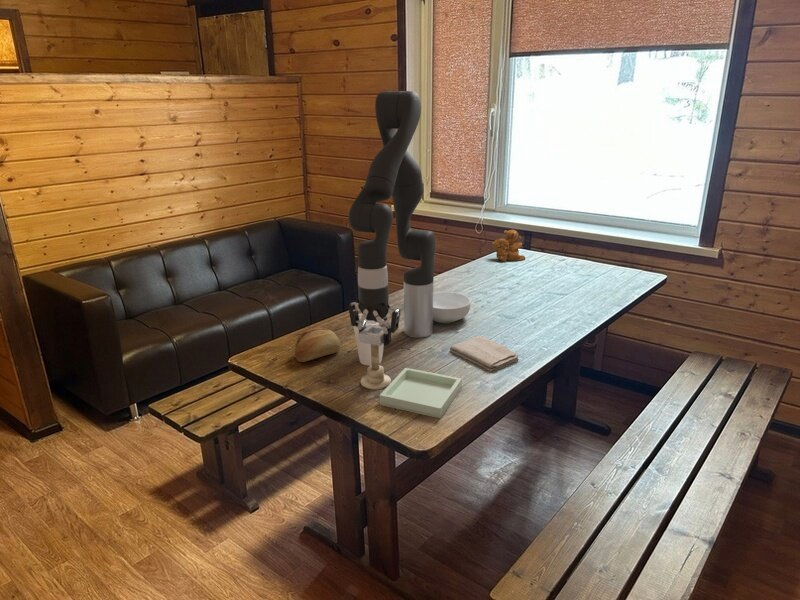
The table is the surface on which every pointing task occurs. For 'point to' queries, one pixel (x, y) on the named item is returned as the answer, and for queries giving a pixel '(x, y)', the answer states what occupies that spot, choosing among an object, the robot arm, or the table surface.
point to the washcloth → (485, 353)
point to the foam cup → (366, 346)
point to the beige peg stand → (375, 373)
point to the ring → (372, 335)
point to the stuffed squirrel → (508, 247)
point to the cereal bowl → (449, 306)
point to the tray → (421, 392)
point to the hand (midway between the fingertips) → (375, 343)
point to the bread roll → (316, 344)
